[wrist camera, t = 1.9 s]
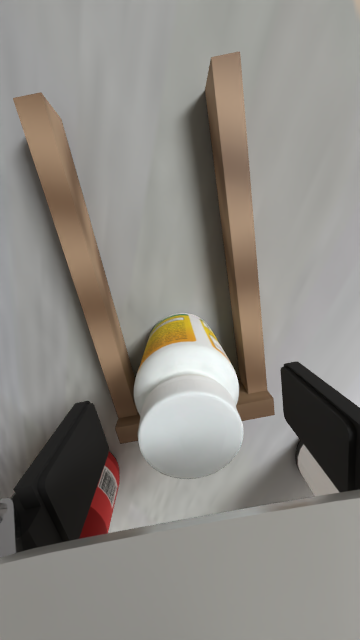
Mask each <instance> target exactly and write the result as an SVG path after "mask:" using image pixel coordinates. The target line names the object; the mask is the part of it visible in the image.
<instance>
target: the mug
mask: <svg viewBox="0 0 360 640" xmlns="http://www.w3.org/2000/svg"><path fill="white" fill-rule="evenodd" d="M296 464H297V466H298V469H299V471H300V472H301V474H302V476H303V477H304V479H305V481H306V482H307V484H308V486H309V488H310V489H311V491H312V493H313V494H314V496H320V495H327V494H333V493H340V492H339V491H338V490H337V488H336V487H335V486H334V484H333V483H332V482H331V480H330V479H329V478H328V476H327V475H326V474H325V472H324V471H323V470H322V468H321V467H320V466H319V464H318V463H317V462H316V460H315V459H314V458H313V456H312V455H311V453H310V452H309V451H308V449H307V448H306V447H305V445H304V444H303V443H302V441H301V440H300V442H299V444H298V446H297V450H296Z"/></svg>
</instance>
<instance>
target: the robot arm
mask: <svg viewBox="0 0 360 640" xmlns="http://www.w3.org/2000/svg"><path fill="white" fill-rule="evenodd" d="M281 382H282V397H283V411H284V417H285V419H286V421H287V423H288V424H289V425H290V427H291V428H292V429H293V431H294V432H295V433H296V435H297V436H298V437H299V439H300V440H301V441H302V443H303V444H304V445H305V447H306V448H307V449H308V451H309V452H310V453H311V455H312V456H313V458H314V459H315V460H316V462H317V463H318V464H319V466H320V467H321V468H322V470H323V471H324V472H325V474H326V475H327V476H328V478H329V479H330V480H331V482H332V483H333V484H334V486H335V487H336V488H337V490H338V491H339V492H340V493H333V494H327V495H320V496H314V497H308V498H302V499H296V500H291V501H285V502H279V503H273V504H268V505H262V506H256V507H250V508H244V509H239V510H233V511H228V512H222V513H216V514H211V515H205V516H200V517H194V518H189V519H183V520H178V521H172V522H167V523H161V524H156V525H150V526H145V527H139V528H134V529H129V530H123V531H118V532H113V533H107V534H102V535H97V536H91V537H86V538H81V539H79V538H80V535H81V532H82V529H83V526H84V523H85V520H86V518H87V515H88V512H89V509H90V506H91V503H92V500H93V497H94V494H95V492H96V489H97V486H98V483H99V480H100V477H101V474H102V471H103V468H104V466H105V463H106V460H107V457H108V453H109V447H108V444H107V441H106V438H105V435H104V432H103V429H102V426H101V423H100V420H99V418H98V415H97V412H96V409H95V406H94V404H93V403H90V402H89V401H85V402H79V403H76V404H75V405H74V406H73V407H72V409H71V410H70V412H69V413H68V414H67V416H66V417H65V418H64V420H63V421H62V423H61V424H60V425H59V427H58V428H57V430H56V431H55V432H54V434H53V435H52V437H51V438H50V439H49V441H48V442H47V443H46V445H45V446H44V448H43V449H42V450H41V452H40V453H39V455H38V456H37V457H36V459H35V460H34V461H33V463H32V464H31V466H30V467H29V468H28V470H27V471H26V473H25V474H24V475H23V477H22V478H21V479H20V481H19V482H18V484H17V485H16V486H15V488H14V491H15V494H14V496H13V497H12V499H9V498H2V499H0V640H360V408H359V407H358V406H357V405H355V404H354V403H353V402H351V401H350V400H349V399H347V398H346V397H345V396H343V395H342V394H340V393H339V392H338V391H336V390H335V389H334V388H332V387H331V386H330V385H328V384H327V383H326V382H324V381H323V380H322V379H320V378H319V377H318V376H316V375H315V374H314V373H312V372H311V371H310V370H308V369H307V368H306V367H304V366H303V365H301V364H300V363H299V362H291V363H286V364H284V367H282V368H281Z"/></svg>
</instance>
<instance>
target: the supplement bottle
mask: <svg viewBox="0 0 360 640" xmlns="http://www.w3.org/2000/svg"><path fill="white" fill-rule="evenodd" d="M238 397H239V383H238V379H237V375H236V372H235V370H234V368H233V366H232V364H231V362H230V361H229V359H228V357H227V356H226V354H225V352H224V350H223V349H222V347H221V345H220V344H219V342H218V340H217V338H216V336H215V335H214V333H213V332H212V330H211V329H210V327H209V326H208V325H207V323H206V322H205V321H203V320H202V319H201V318H199V317H197V316H195V315H192V314H187V313H177V314H173V315H170V316H167V317H165V318H164V319H162V320H161V321H159V322H158V323H157V324H156V325H155V327H154V328H153V330H152V332H151V334H150V336H149V339H148V342H147V345H146V348H145V351H144V354H143V358H142V361H141V364H140V366H139V369H138V372H137V375H136V379H135V384H134V400H135V404H136V408H137V410H138V412H139V414H140V423H139V429H138V443H139V448H140V451H141V453H142V455H143V457H144V458H145V460H146V461H147V462H148V463H149V464H150V465H151V466H152V467H153V468H154V469H156V470H157V471H159V472H160V473H163V474H165V475H167V476H170V477H174V478H180V479H195V478H200V477H204V476H208V475H211V474H214V473H216V472H217V471H219V470H221V469H222V468H224V467H225V466H226V465H228V464H229V463H230V462H231V461H232V460H233V458H234V457H235V456H236V454H237V453H238V451H239V449H240V447H241V444H242V440H243V425H242V421H241V418H240V416H239V413H238V411H237V409H236V405H237V402H238Z"/></svg>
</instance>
